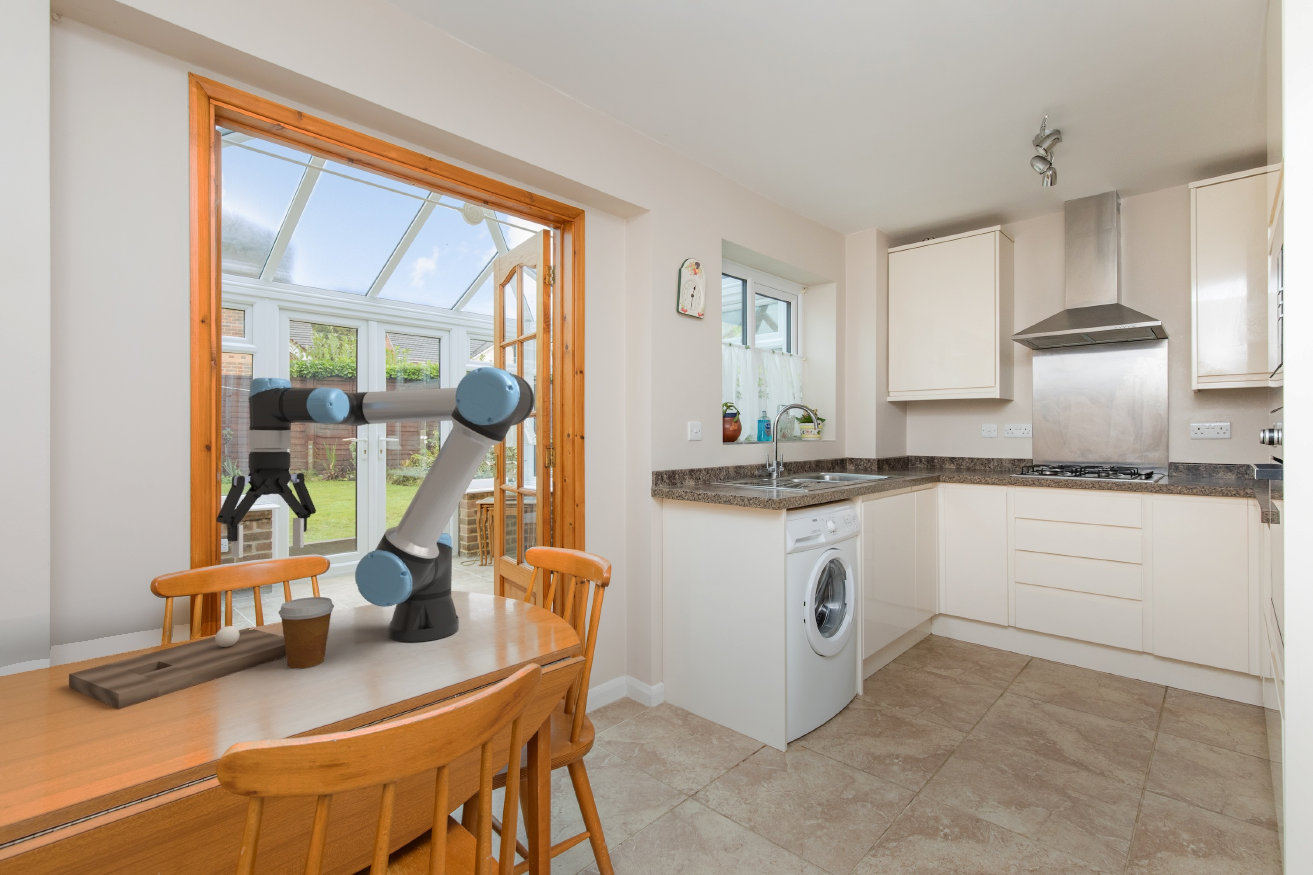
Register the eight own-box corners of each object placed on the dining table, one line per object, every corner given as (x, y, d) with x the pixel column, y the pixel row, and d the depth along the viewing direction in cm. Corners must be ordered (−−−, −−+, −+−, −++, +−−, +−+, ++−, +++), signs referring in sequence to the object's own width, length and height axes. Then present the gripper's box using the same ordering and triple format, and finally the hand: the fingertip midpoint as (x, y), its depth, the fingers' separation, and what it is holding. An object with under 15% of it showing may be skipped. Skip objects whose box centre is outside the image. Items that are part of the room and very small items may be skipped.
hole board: (298, 652, 125) (299, 640, 125) (118, 708, 98) (118, 693, 98) (248, 639, 133) (248, 627, 133) (68, 687, 106) (69, 673, 106)
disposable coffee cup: (308, 673, 113) (309, 610, 113) (265, 669, 115) (266, 607, 115) (344, 656, 123) (344, 597, 123) (304, 652, 124) (304, 595, 125)
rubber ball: (243, 645, 122) (244, 625, 122) (222, 651, 118) (222, 630, 118) (232, 641, 123) (232, 622, 123) (210, 647, 120) (211, 627, 120)
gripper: (313, 450, 141) (312, 542, 140) (195, 451, 119) (194, 560, 119) (334, 450, 137) (333, 544, 137) (217, 451, 115) (216, 563, 115)
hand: (268, 552), depth 128 cm, fingers open, 12 cm apart
